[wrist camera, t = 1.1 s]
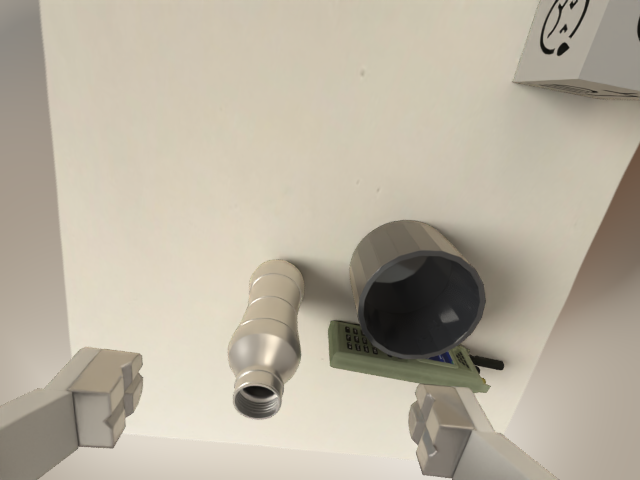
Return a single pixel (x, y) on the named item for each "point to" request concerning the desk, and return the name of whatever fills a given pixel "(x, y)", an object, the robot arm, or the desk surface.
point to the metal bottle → (267, 340)
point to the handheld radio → (406, 361)
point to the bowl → (414, 291)
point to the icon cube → (584, 48)
